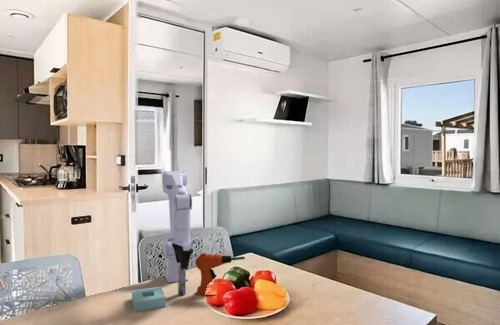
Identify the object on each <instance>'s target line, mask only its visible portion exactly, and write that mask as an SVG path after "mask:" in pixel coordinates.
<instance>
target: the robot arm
mask: <svg viewBox="0 0 500 325" xmlns="http://www.w3.org/2000/svg"><path fill="white" fill-rule="evenodd" d="M161 182H162V192H163V193H165V194H167V198H168V204H169V205H168V209H169V225H170V226H169V227H170V228H169V229H170V232H169V233H168V234H166V235H165V236H164V239H163V254H164V257H165V258H167V259H166V272H165V273H164V276H165V278H166V279H165V280H166V281H167V283H175V282H176V283H177V282H178V267H179V266H181V269H186V270H187V269H188V267H189V263H190V259H191V257H192V254H193V252H194V249H193V248H190V247H191V245H190V244H191V242H192V239H191V211H192V208H193V197H192V194H191V193H189V192H188V189H187V187H186V186H187V182H188V174H187V172H186V171H185V170H179V171H177V170H174V171H173V170H171V171H167V170H163V172H162V173H161ZM186 281H189V278H188V276H187V275H186Z"/></svg>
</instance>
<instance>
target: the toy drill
mask: <svg viewBox="0 0 500 325" xmlns="http://www.w3.org/2000/svg"><path fill="white" fill-rule="evenodd" d="M245 259H246V257H245V256H236V257H234V256H233V257H232V256H231V255H223V254H222V255H221V254H218V253H215V254H213V253H212V254H211V253H208V254H207V253H204V252H203V253H201V254H200V255H198V256H197V258H196V259H195V266H196V268H197V269H198V270H200V276H201V277H200V278H201V280H200V285H199V286H197V289H196V294H197V295H198V296H199V295H200V296H206V295H205V291H206V288H207V285H208V284H209V283H210V282H213V280H215V279H216V277H217V274H215V272H214V271H215V270H214V269H215V268H217V267H220V266H223V265H224V264H230V263H231V262H232V261H237V260H240V261H241V260H245Z"/></svg>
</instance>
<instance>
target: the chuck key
mask: <svg viewBox="0 0 500 325" xmlns="http://www.w3.org/2000/svg"><path fill="white" fill-rule="evenodd" d="M186 270H187V269H181V266H179V267H178V281H177V282H178V284H177V285H178V286H177V288H178V290H177V293H178V294H177V295H178V296H185V295H186V290H187V289H186V288H187V287H186V285H187V284H186V282H187V280H186V276H187V273H186Z"/></svg>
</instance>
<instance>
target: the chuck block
mask: <svg viewBox="0 0 500 325" xmlns="http://www.w3.org/2000/svg"><path fill="white" fill-rule="evenodd" d="M166 298H167V297H166V295H165V293H164V290H163V288H162V286H154V287H149V288H141V289H134V290H131V301H132V302H131V303H132V308H133V309H132V310H133V312H140V311H146V310H151V309H159V308H166Z"/></svg>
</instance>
